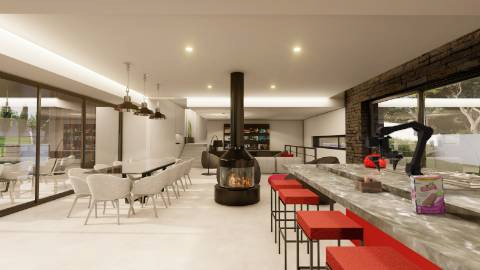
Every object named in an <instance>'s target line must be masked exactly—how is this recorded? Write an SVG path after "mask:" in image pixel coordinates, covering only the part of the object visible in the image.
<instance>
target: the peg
mask: <svg viewBox="0 0 480 270" xmlns="http://www.w3.org/2000/svg"><path fill="white" fill-rule="evenodd" d="M364 179H365V182H370V179H371V177H369V176H368V177H367V176H366V177H364Z"/></svg>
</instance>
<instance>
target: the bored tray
mask: <svg viewBox="0 0 480 270" xmlns="http://www.w3.org/2000/svg"><path fill="white" fill-rule="evenodd" d="M353 181H354V189H355V190H357V191H359V192H360V193H375V192H383V186H382V181H380V180H378V179H375V178H370V182H365V179H363V178H361V179H360V178H359V179H354V180H353Z"/></svg>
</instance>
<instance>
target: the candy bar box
mask: <svg viewBox="0 0 480 270" xmlns="http://www.w3.org/2000/svg"><path fill="white" fill-rule="evenodd" d="M443 180H444V179H443V176H441V175H438V174H436V175H435V174H434V175H433V174H432V175H426V174H424V176H410V177H409V181H410V191H411V205H412V207H411V208H412V211H413V212H414V213H415V214H417V215H446V206H445V205H446V204H445V203H446V202H445V194H444V181H443Z"/></svg>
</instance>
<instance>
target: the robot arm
mask: <svg viewBox="0 0 480 270" xmlns="http://www.w3.org/2000/svg"><path fill="white" fill-rule="evenodd" d="M407 129H412V130H413V131H414V132H416V133H417V134H416V136H417V142H416V144H415V149H414V151H413V154H412V157H411V161H410V162H406V164H405V167H404V171H405V173H406V175H407V176H408V178H410V176H424V175H425V174H424V173H423V172H422V165H421V162H422V160H423V156H424V152H425V150H426V148H427V147H426V146H427V143H428V141H429V140H430V139H431V138H432V137H433V135H434V133H435V131H434V130H435V129H433V127H431V126H429V125H428V126H427V125H425V124H423V123H420V122H418V121H417V120H411V121H408V122H404V123H399V124H395V125H389V126H380V127H377V128H376V132H375V134H374V135H373V136H367V137H366V139H365V147H366V148H368V149H369V148H370V149H371V148H378V150H379V155H369V156H368V161H370V162H372V163H373V164H374V166H375V167H376V169H377V171H378V173H380V172H381V169H380V160H391V162H392V168H393V169H392V170H393V171H396V169H397V166H398V163H399V162H400V161H401V160H404V155H403V154H402V153H399V150H396V149H395V150H392V148H391V146H390V139H391V140H392V139H393V137H392V136H391V134H393V133H395V132H399V131H404V130H407Z"/></svg>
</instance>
